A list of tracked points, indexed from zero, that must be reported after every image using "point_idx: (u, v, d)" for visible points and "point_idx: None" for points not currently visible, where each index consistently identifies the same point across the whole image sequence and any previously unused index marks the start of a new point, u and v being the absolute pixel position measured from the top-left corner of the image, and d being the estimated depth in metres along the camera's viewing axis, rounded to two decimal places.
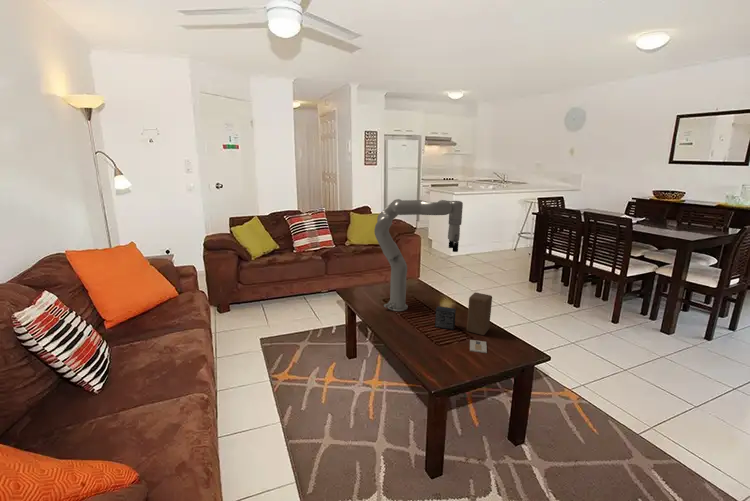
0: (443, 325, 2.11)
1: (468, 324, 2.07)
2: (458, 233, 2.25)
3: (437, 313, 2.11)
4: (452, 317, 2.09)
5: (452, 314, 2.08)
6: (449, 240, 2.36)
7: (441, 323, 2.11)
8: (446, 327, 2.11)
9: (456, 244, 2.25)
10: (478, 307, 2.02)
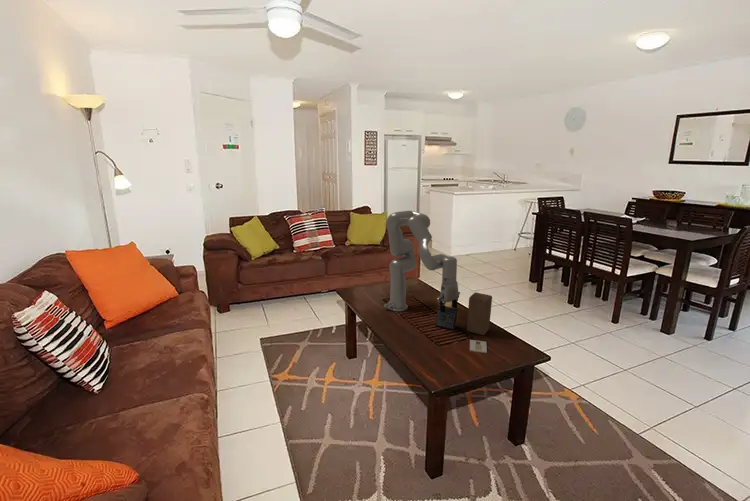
0: (444, 324, 2.11)
1: (468, 324, 2.07)
2: None
3: (438, 312, 2.11)
4: (453, 317, 2.08)
5: (453, 314, 2.08)
6: (444, 304, 2.06)
7: (442, 322, 2.11)
8: (446, 326, 2.11)
9: None
10: (478, 307, 2.02)
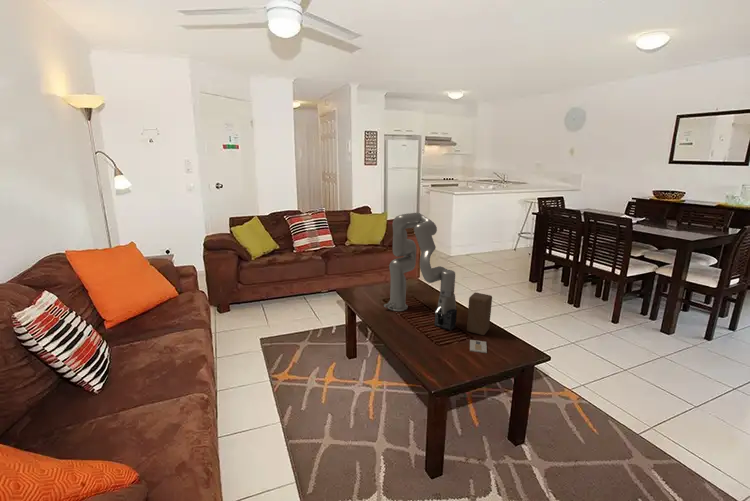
0: None
1: (468, 324, 2.07)
2: None
3: None
4: (449, 317, 2.08)
5: (449, 314, 2.08)
6: (442, 317, 2.09)
7: None
8: (444, 327, 2.11)
9: None
10: (478, 307, 2.02)
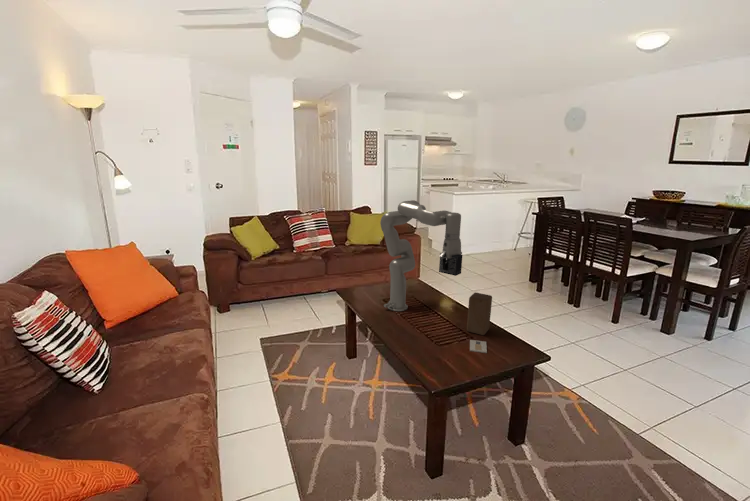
0: (447, 270, 2.04)
1: (468, 324, 2.07)
2: None
3: None
4: (455, 262, 2.00)
5: (455, 259, 2.00)
6: (447, 261, 2.02)
7: None
8: (449, 272, 2.03)
9: None
10: (478, 307, 2.02)
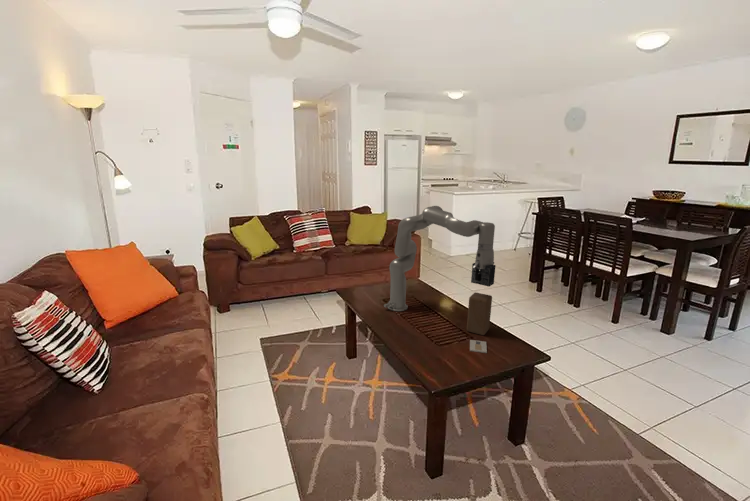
0: None
1: (468, 324, 2.07)
2: None
3: None
4: (488, 272, 1.97)
5: (488, 269, 1.97)
6: (480, 272, 1.98)
7: None
8: (482, 283, 2.00)
9: None
10: (478, 307, 2.02)
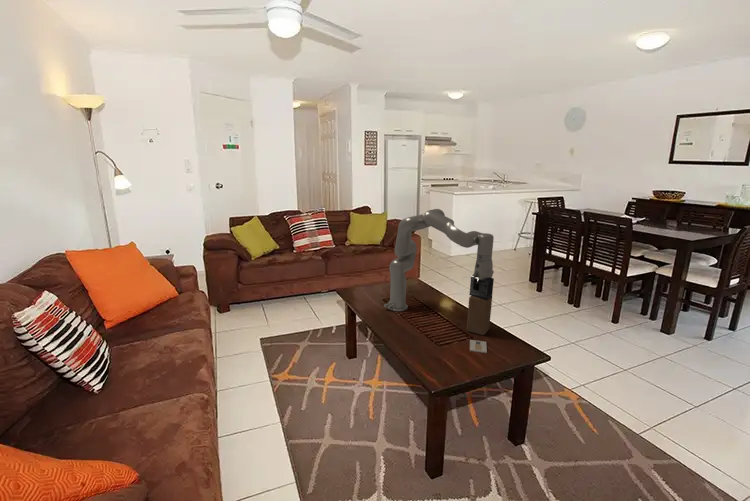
0: (478, 293, 2.03)
1: (468, 324, 2.07)
2: None
3: None
4: (486, 286, 1.99)
5: (486, 282, 1.98)
6: (478, 282, 1.99)
7: (476, 291, 2.03)
8: (480, 296, 2.02)
9: None
10: (478, 307, 2.02)
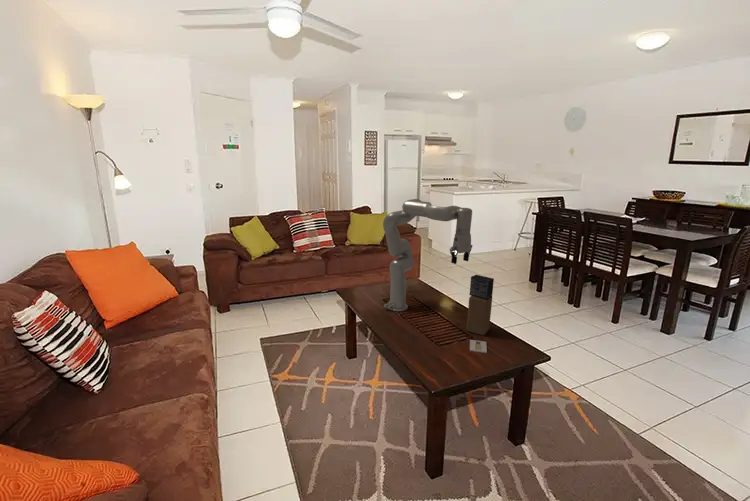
0: (478, 293, 2.03)
1: (468, 324, 2.07)
2: None
3: (472, 280, 2.04)
4: (486, 286, 1.99)
5: (486, 283, 1.99)
6: (456, 255, 2.04)
7: (476, 292, 2.03)
8: (480, 296, 2.02)
9: None
10: (478, 307, 2.02)
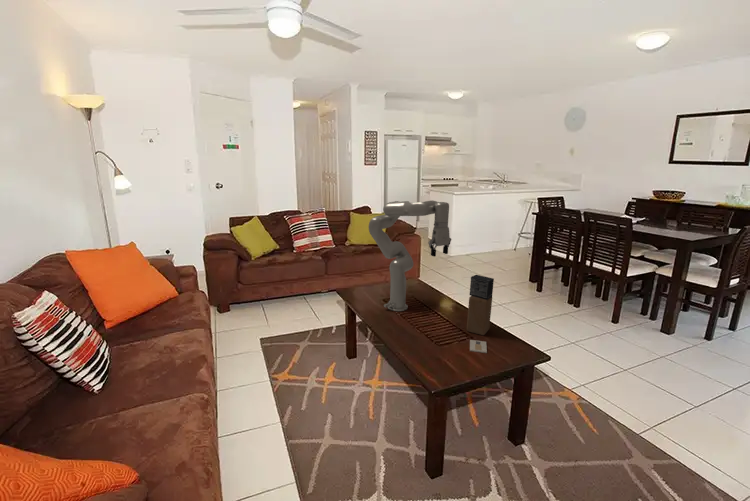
0: (478, 293, 2.03)
1: (468, 324, 2.07)
2: None
3: (472, 280, 2.04)
4: (486, 286, 1.99)
5: (486, 283, 1.99)
6: (435, 248, 2.11)
7: (476, 292, 2.03)
8: (480, 296, 2.02)
9: None
10: (478, 307, 2.02)
